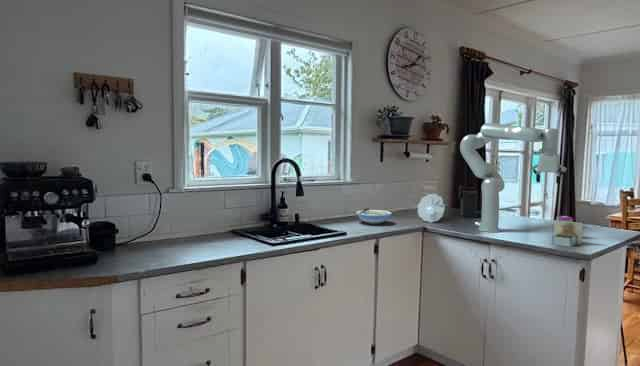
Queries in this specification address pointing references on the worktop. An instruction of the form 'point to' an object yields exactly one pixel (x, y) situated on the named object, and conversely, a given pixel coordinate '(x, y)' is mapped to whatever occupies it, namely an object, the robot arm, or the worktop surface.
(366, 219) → the ramen bowl
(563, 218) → the supplement box
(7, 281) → the worktop surface
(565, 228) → the tan cylinder
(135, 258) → the worktop surface
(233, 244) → the worktop surface
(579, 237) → the cream block
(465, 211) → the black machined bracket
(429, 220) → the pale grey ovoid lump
